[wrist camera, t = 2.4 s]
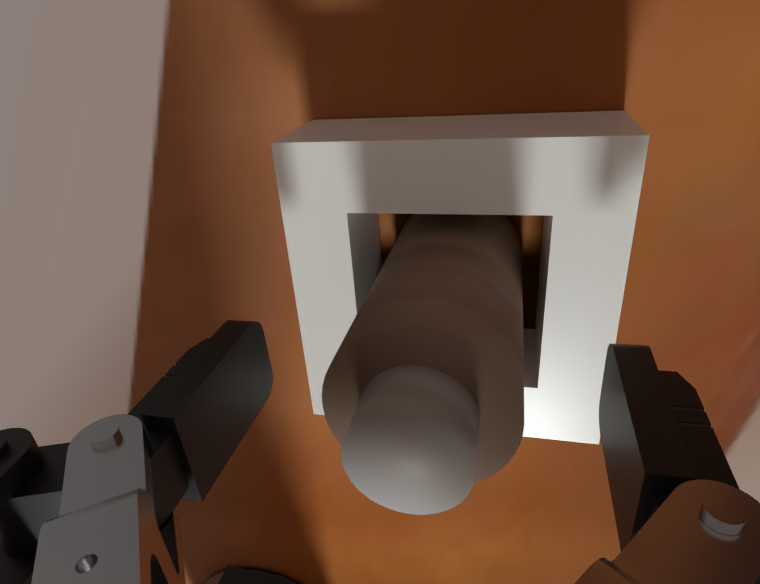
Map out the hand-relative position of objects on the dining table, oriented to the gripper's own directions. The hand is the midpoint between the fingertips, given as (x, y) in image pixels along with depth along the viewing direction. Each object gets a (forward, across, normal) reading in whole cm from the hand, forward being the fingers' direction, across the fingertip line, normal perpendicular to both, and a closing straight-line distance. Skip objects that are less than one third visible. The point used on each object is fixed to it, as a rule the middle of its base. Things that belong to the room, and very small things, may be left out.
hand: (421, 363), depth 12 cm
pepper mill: (+7, 0, +1) cm, 7 cm away
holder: (+7, 0, +1) cm, 7 cm away
